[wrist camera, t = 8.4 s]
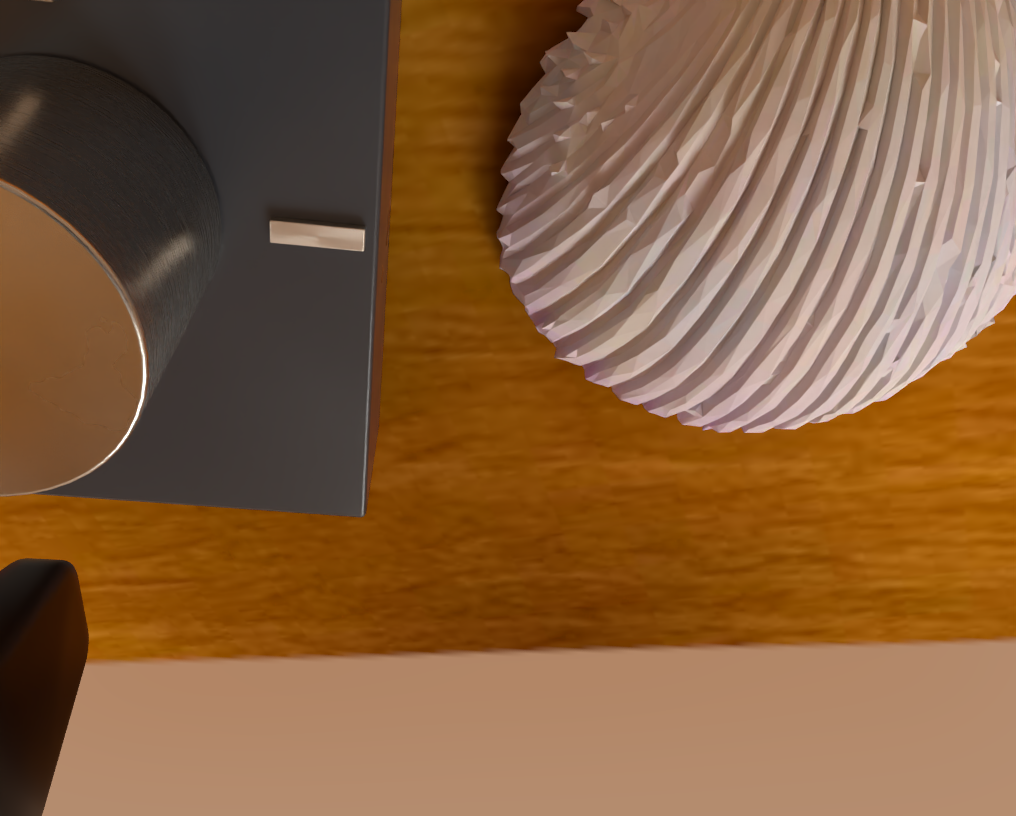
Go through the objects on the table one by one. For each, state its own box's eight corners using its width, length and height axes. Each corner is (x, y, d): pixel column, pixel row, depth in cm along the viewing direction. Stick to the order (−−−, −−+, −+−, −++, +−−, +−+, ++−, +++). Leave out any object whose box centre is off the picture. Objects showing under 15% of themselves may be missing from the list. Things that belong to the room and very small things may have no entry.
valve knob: (212, 70, 13) (115, 181, 10) (231, 350, 16) (157, 523, 12) (-127, 38, 13) (-358, 141, 9) (-54, 330, 15) (-217, 502, 12)
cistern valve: (379, 426, 20) (364, 525, 18) (-75, 390, 19) (-162, 488, 17) (412, -194, 14) (397, -187, 12) (-241, -282, 13) (-416, -295, 11)
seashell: (1344, -184, 12) (1152, 543, 15) (1076, -117, 17) (978, 417, 21) (507, -193, 11) (507, 560, 15) (490, -121, 17) (494, 427, 20)
